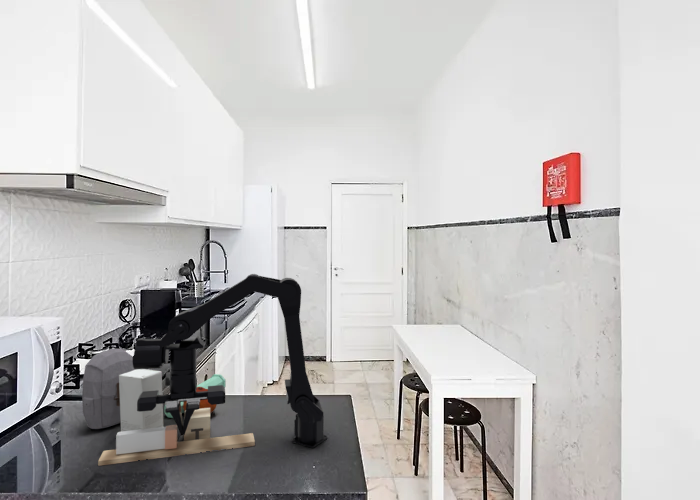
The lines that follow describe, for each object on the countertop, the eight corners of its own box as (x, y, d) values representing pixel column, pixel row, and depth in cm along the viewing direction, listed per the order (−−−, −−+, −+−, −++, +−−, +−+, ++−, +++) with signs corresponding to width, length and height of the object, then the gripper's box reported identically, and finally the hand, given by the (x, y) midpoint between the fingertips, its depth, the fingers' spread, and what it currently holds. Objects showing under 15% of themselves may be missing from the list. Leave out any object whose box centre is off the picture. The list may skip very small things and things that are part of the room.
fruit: (211, 422, 118) (211, 392, 118) (178, 422, 119) (178, 392, 118) (221, 410, 127) (221, 382, 127) (190, 409, 127) (191, 382, 127)
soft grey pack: (126, 412, 125) (126, 341, 125) (148, 416, 122) (148, 344, 122) (74, 432, 111) (74, 353, 111) (97, 438, 108) (97, 357, 108)
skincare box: (164, 432, 112) (164, 371, 112) (142, 443, 106) (142, 378, 106) (140, 426, 115) (140, 367, 115) (118, 436, 109) (118, 373, 109)
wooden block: (210, 441, 107) (210, 416, 107) (183, 444, 105) (183, 419, 105) (210, 431, 113) (210, 407, 113) (185, 433, 111) (185, 410, 111)
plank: (252, 437, 109) (252, 433, 109) (254, 445, 105) (254, 441, 105) (103, 455, 100) (103, 450, 100) (98, 465, 95) (98, 461, 95)
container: (173, 398, 120) (222, 371, 144) (156, 404, 121) (207, 376, 146) (181, 418, 120) (228, 388, 144) (163, 424, 121) (213, 393, 145)
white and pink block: (177, 442, 103) (177, 424, 103) (176, 448, 100) (176, 429, 100) (118, 449, 100) (118, 431, 99) (115, 455, 97) (115, 436, 97)
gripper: (224, 356, 113) (223, 417, 113) (144, 361, 107) (143, 425, 107) (225, 367, 102) (225, 435, 102) (136, 374, 96) (136, 445, 97)
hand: (182, 434), depth 102 cm, fingers closed
